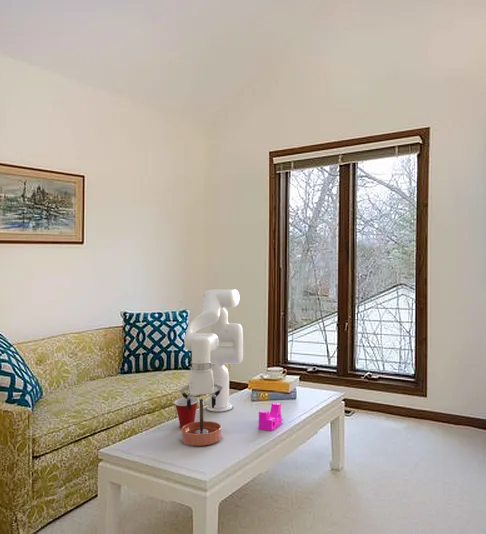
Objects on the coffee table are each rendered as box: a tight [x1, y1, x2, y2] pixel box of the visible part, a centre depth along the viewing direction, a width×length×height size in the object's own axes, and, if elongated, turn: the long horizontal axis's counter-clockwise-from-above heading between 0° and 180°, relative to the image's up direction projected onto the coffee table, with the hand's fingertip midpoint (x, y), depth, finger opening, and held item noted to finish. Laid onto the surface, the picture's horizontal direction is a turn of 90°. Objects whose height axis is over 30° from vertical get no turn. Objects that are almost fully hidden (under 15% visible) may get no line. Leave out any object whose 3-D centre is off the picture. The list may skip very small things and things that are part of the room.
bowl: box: [180, 420, 222, 447], centre depth 201 cm, size 16×16×5 cm
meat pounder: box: [195, 398, 209, 434], centre depth 201 cm, size 6×6×16 cm
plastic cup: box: [173, 396, 200, 429], centre depth 217 cm, size 11×11×12 cm
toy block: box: [258, 402, 283, 432], centre depth 220 cm, size 15×6×8 cm, turn 156°
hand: (201, 408), depth 201 cm, fingers open, 9 cm apart
